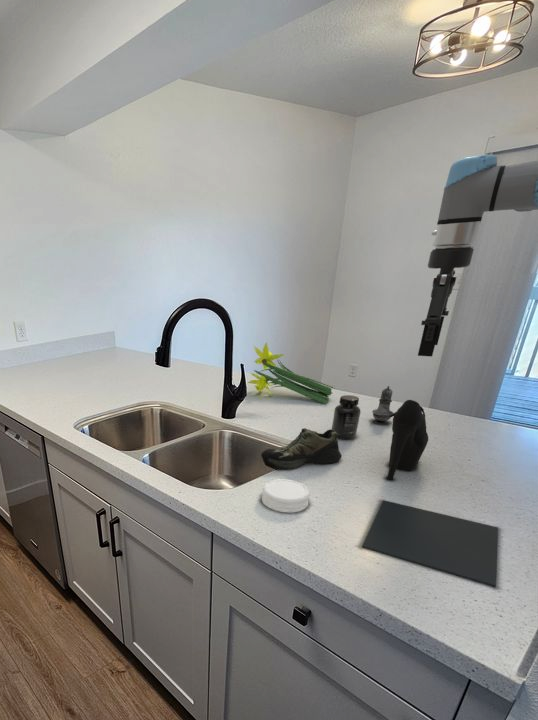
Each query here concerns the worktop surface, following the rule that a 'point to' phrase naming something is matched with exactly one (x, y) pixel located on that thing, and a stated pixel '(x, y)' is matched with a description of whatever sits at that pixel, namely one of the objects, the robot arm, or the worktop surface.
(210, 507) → the worktop surface
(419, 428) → the high-heeled shoe
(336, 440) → the hiking shoe
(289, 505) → the coaster
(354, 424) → the supplement bottle
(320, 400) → the daffodil flowers
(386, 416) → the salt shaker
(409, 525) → the mat
